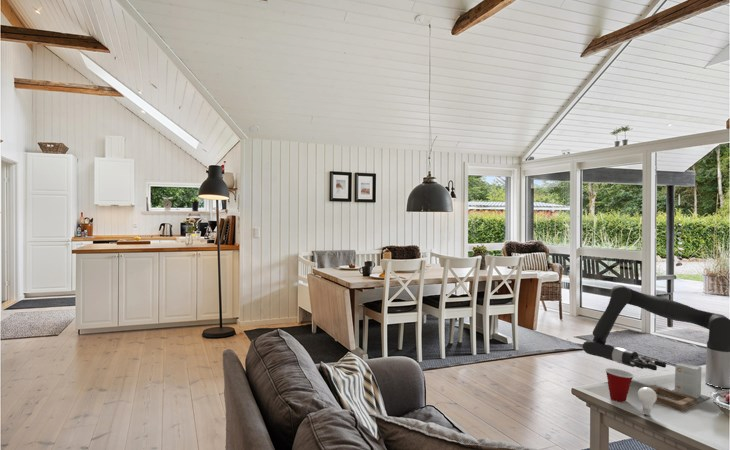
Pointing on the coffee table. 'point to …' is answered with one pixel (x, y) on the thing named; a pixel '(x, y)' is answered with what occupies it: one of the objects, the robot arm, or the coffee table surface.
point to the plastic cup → (618, 383)
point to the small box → (688, 379)
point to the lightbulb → (647, 399)
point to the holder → (679, 405)
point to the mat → (700, 398)
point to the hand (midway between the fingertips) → (661, 366)
